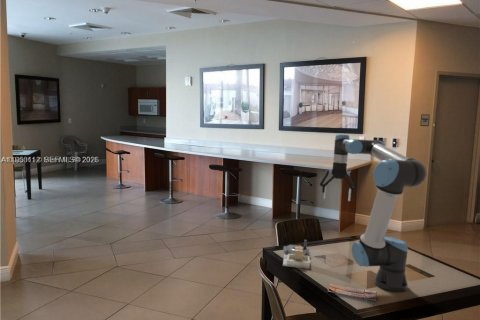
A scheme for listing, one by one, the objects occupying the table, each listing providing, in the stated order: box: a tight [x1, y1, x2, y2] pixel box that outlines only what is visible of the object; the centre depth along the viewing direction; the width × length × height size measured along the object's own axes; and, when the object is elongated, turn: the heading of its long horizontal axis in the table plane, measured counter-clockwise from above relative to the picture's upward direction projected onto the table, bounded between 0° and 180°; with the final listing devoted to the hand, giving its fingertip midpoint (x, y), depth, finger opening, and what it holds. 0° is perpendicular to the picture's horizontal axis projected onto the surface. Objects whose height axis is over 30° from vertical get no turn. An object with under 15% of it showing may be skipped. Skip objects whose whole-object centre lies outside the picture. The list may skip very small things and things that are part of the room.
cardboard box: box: [294, 246, 304, 261], centre depth 209 cm, size 7×4×7 cm, turn 172°
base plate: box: [282, 252, 311, 270], centre depth 218 cm, size 30×14×3 cm, turn 171°
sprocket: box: [282, 239, 311, 256], centre depth 223 cm, size 16×16×7 cm
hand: (336, 199), depth 215 cm, fingers open, 13 cm apart
